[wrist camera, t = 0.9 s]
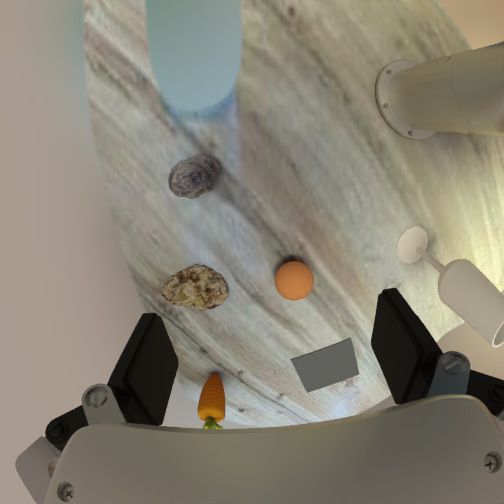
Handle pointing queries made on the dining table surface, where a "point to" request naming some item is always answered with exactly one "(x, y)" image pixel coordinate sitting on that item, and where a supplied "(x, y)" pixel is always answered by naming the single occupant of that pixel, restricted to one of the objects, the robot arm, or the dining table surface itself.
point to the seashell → (193, 176)
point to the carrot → (212, 402)
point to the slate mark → (327, 365)
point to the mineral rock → (196, 288)
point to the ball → (294, 280)
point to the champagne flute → (460, 287)
